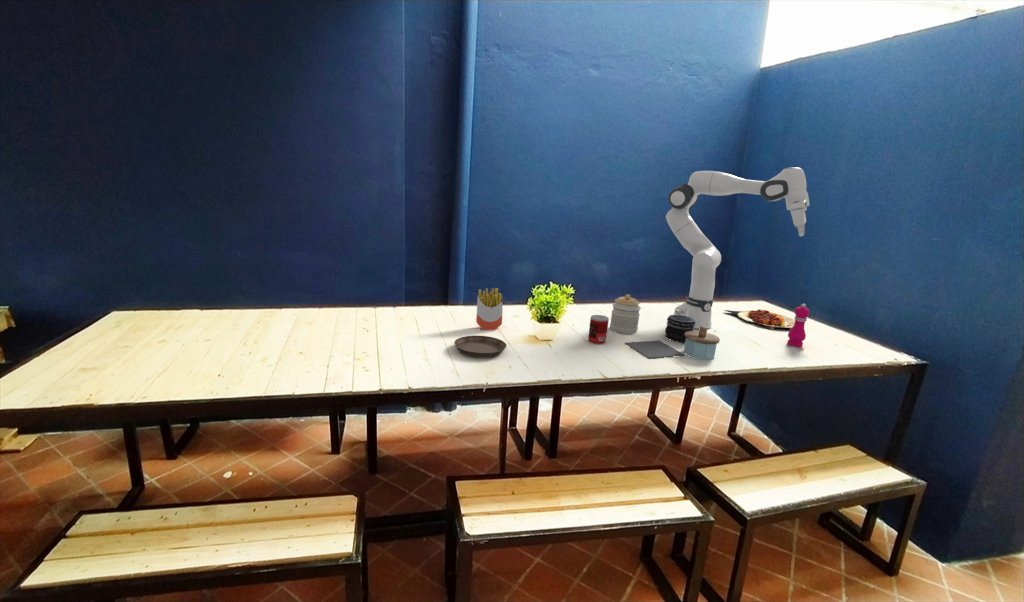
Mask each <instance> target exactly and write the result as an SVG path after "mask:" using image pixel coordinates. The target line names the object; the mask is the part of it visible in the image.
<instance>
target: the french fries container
mask: <svg viewBox="0 0 1024 602" xmlns="http://www.w3.org/2000/svg"><path fill="white" fill-rule="evenodd" d="M503 297H504V296H503V295H502V294H501V293H499V288H498V287H497V288H492V289H491V291H488V288H485V290H483V291H482V289H478V295H477V302H476V303H477V304H476V317H475V318H476V321H475V323H476V324H477V325H478V327H480V328H481V329H483V331H489V330H492V331H495V330H497V329H499V328H500V326H502V325H503V324H502V323H503Z"/></svg>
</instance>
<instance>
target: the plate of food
mask: <svg viewBox="0 0 1024 602" xmlns="http://www.w3.org/2000/svg"><path fill="white" fill-rule="evenodd" d="M723 311H724V312H728V313H731V314H734V315H736V316H738V317H739V318H740V319H743V320H745V321H747V322H750V320H749V319H751V322H753V323H754V324H756V325H761V326H764V327H765V328H766V329H768V330H769V331H770V330H771V331H772V330H774V329H775V328H786V329H787V328H789V329H791V328H792V327H793V326H794V323H795V319H794V318H792V317H789V316H785V315H782V314H778V313H775V312H771V311H770V310H766V309H760V308H759V309H757V310H752V309H751V310H746V311H743V310H742V311H740V310H739V311H738V310H729V309H725V310H723ZM785 322H787V323H788V324H789V325H788V324H787V323H785ZM785 326H786V327H785Z"/></svg>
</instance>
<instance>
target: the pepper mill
mask: <svg viewBox="0 0 1024 602" xmlns="http://www.w3.org/2000/svg"><path fill="white" fill-rule="evenodd" d="M806 306H807V305H806V304H805V303H802V304H800V306H798V307H796V308H795V309H794V318H793V319H794V320H795V323H794V326H793V327H792V328H790V329H789V331H788V334H787V338H788V339H787V345H789V346H791V347H796V348H802V347H803V345H804V341H806V336H807V335H806V329H805V323H806V322H807V320H808V317H809V316H810V313H811V312H810V310H809V308H807V307H806Z"/></svg>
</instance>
